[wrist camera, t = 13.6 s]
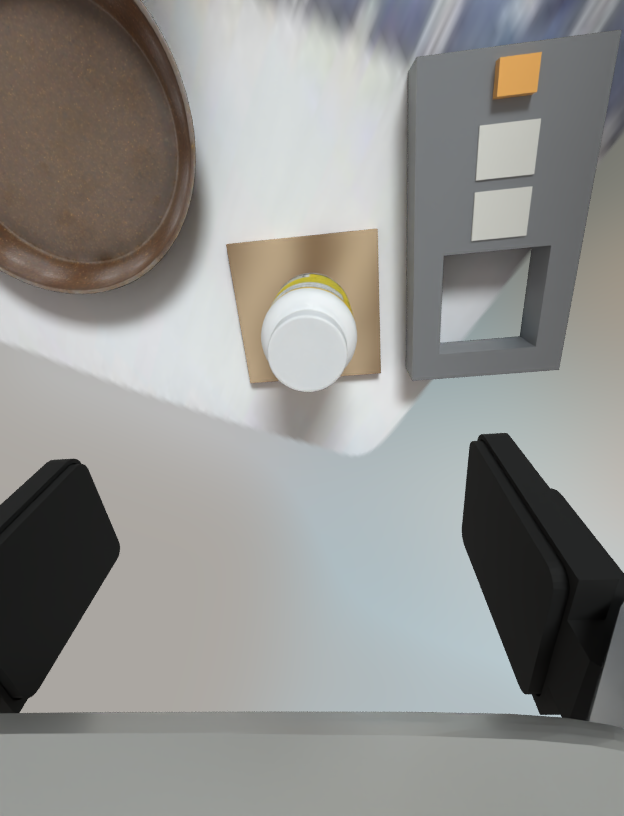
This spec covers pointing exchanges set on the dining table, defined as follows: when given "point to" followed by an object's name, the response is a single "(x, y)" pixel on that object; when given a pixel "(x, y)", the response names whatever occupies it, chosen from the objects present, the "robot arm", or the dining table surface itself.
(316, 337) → the supplement bottle
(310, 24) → the dining table surface
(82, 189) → the plant saucer
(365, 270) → the cork mat
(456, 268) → the dining table surface
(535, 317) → the grey panel with buttons
